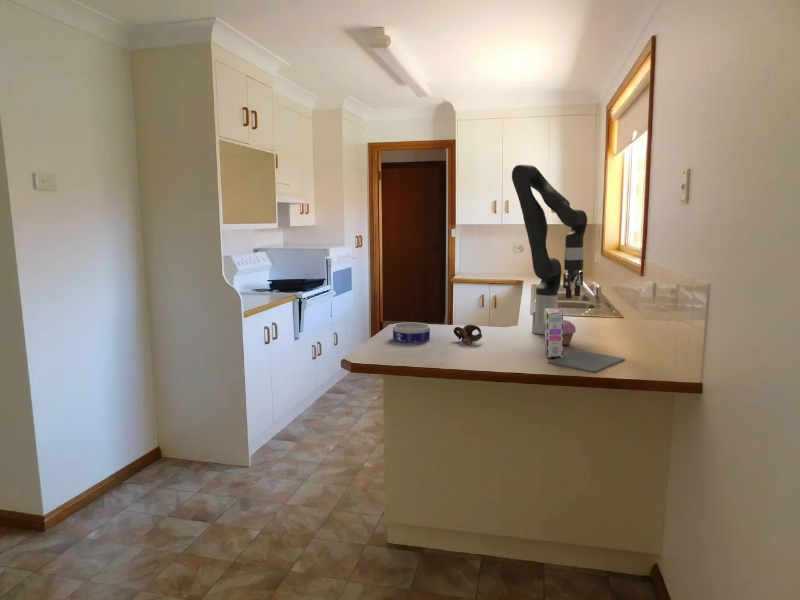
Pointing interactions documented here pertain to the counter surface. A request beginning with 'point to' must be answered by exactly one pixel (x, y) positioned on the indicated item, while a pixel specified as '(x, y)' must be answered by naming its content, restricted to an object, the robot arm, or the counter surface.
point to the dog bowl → (411, 332)
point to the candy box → (553, 332)
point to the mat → (587, 361)
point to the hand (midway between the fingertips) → (572, 297)
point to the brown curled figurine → (468, 333)
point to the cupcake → (568, 332)
